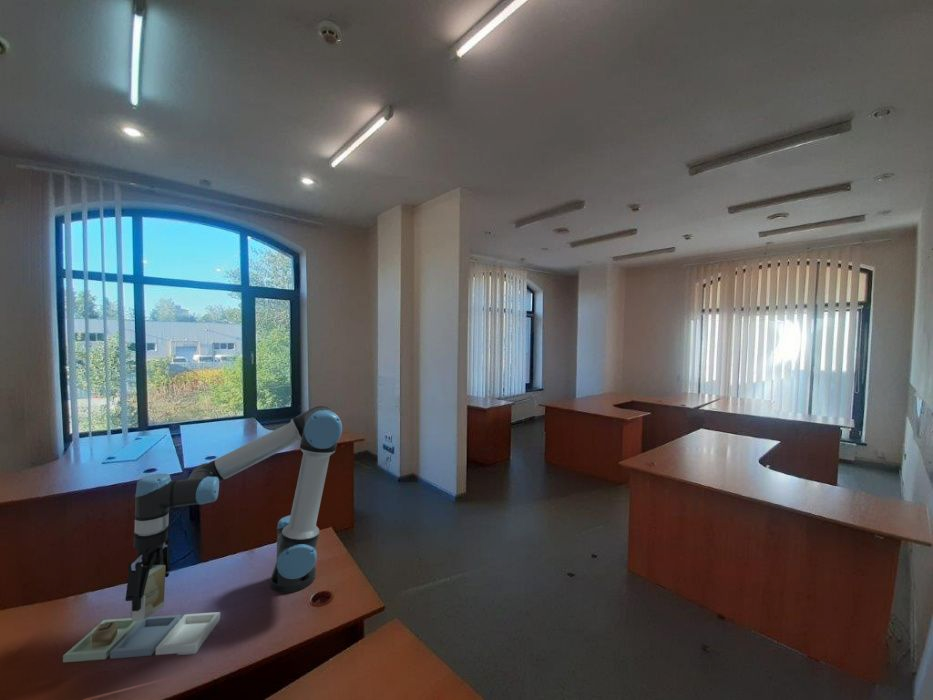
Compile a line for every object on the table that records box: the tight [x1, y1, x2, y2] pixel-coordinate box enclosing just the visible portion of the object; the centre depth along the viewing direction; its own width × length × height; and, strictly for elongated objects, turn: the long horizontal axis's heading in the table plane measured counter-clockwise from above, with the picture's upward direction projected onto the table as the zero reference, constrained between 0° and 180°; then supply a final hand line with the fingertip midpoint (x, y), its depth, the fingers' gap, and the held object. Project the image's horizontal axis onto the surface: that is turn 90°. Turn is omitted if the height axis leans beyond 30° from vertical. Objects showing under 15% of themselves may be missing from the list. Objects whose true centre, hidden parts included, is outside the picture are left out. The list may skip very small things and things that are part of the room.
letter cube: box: [92, 621, 118, 649], centre depth 104 cm, size 4×4×4 cm
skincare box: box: [130, 565, 166, 619], centre depth 106 cm, size 6×4×12 cm
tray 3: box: [155, 611, 221, 656], centre depth 107 cm, size 10×13×2 cm
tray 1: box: [62, 617, 141, 663], centre depth 104 cm, size 10×13×2 cm
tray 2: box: [109, 614, 182, 660], centre depth 106 cm, size 10×13×2 cm
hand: (148, 610), depth 106 cm, fingers closed on skincare box, 7 cm apart
